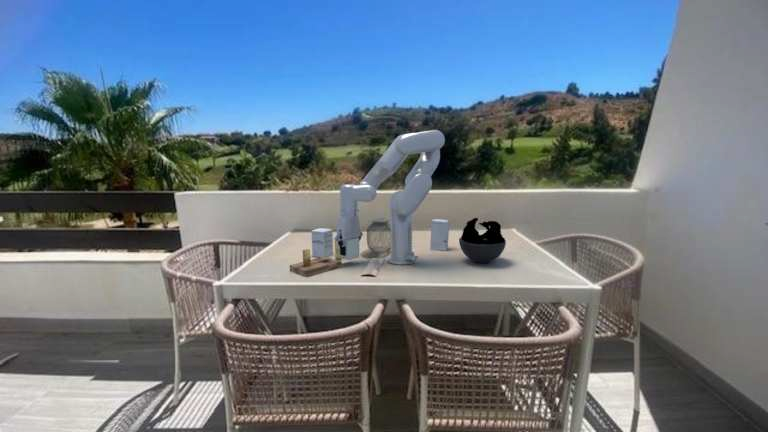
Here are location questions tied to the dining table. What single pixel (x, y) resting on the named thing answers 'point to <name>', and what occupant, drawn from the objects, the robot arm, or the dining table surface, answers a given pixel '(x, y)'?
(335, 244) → the brass pin
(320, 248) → the supplement box
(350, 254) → the pale blue block
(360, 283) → the dining table surface
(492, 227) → the bowl of black rocks
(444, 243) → the skincare box
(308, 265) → the pegboard
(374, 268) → the newspaper
